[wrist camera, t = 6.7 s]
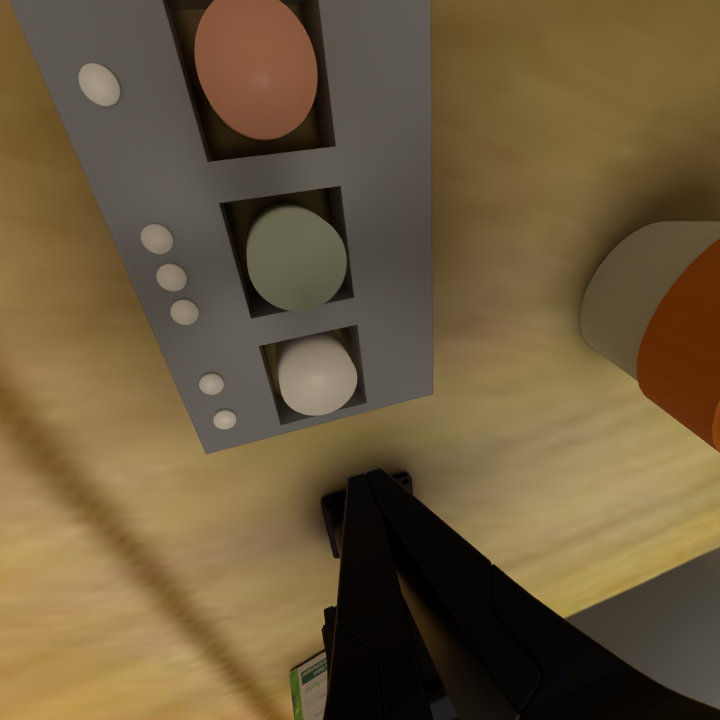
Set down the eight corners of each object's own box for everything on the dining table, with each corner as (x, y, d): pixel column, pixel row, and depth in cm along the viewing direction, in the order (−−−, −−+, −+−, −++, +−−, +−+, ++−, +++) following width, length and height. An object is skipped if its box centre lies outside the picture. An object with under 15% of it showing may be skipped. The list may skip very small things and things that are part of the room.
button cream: (346, 375, 21) (361, 404, 18) (283, 390, 20) (289, 423, 18) (337, 316, 19) (352, 340, 16) (267, 331, 18) (272, 359, 16)
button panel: (414, 371, 22) (434, 395, 20) (209, 423, 20) (206, 457, 18) (400, -21, 14) (432, -58, 11) (36, -9, 11) (-16, -51, 9)
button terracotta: (311, 136, 15) (325, 132, 12) (220, 147, 14) (215, 144, 12) (293, 20, 13) (306, -14, 11) (188, 25, 12) (175, -10, 10)
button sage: (335, 280, 17) (351, 301, 15) (257, 295, 16) (260, 319, 14) (323, 196, 15) (339, 204, 13) (235, 210, 15) (234, 220, 12)
